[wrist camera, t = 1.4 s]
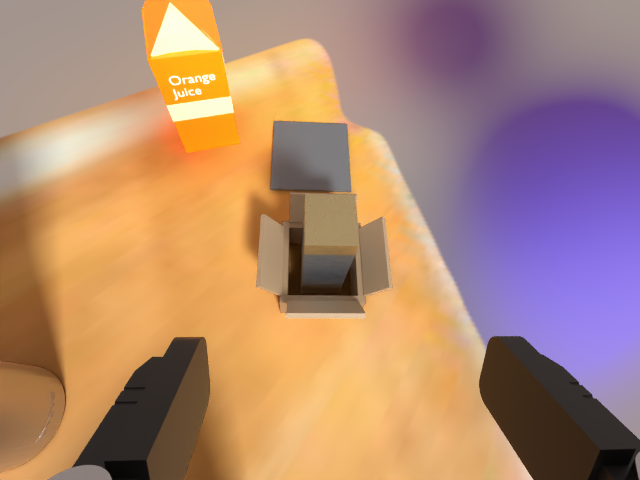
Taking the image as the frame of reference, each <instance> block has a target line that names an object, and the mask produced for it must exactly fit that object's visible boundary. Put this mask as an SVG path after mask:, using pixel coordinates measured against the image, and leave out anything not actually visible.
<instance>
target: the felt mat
mask: <svg viewBox="0 0 640 480" xmlns="http://www.w3.org/2000/svg"><path fill="white" fill-rule="evenodd" d="M271 190H292V191H327V192H351V179H350V163H349V147H348V131H347V124H334V123H311V122H288V121H274V135H273V152H272V170H271Z"/></svg>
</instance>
